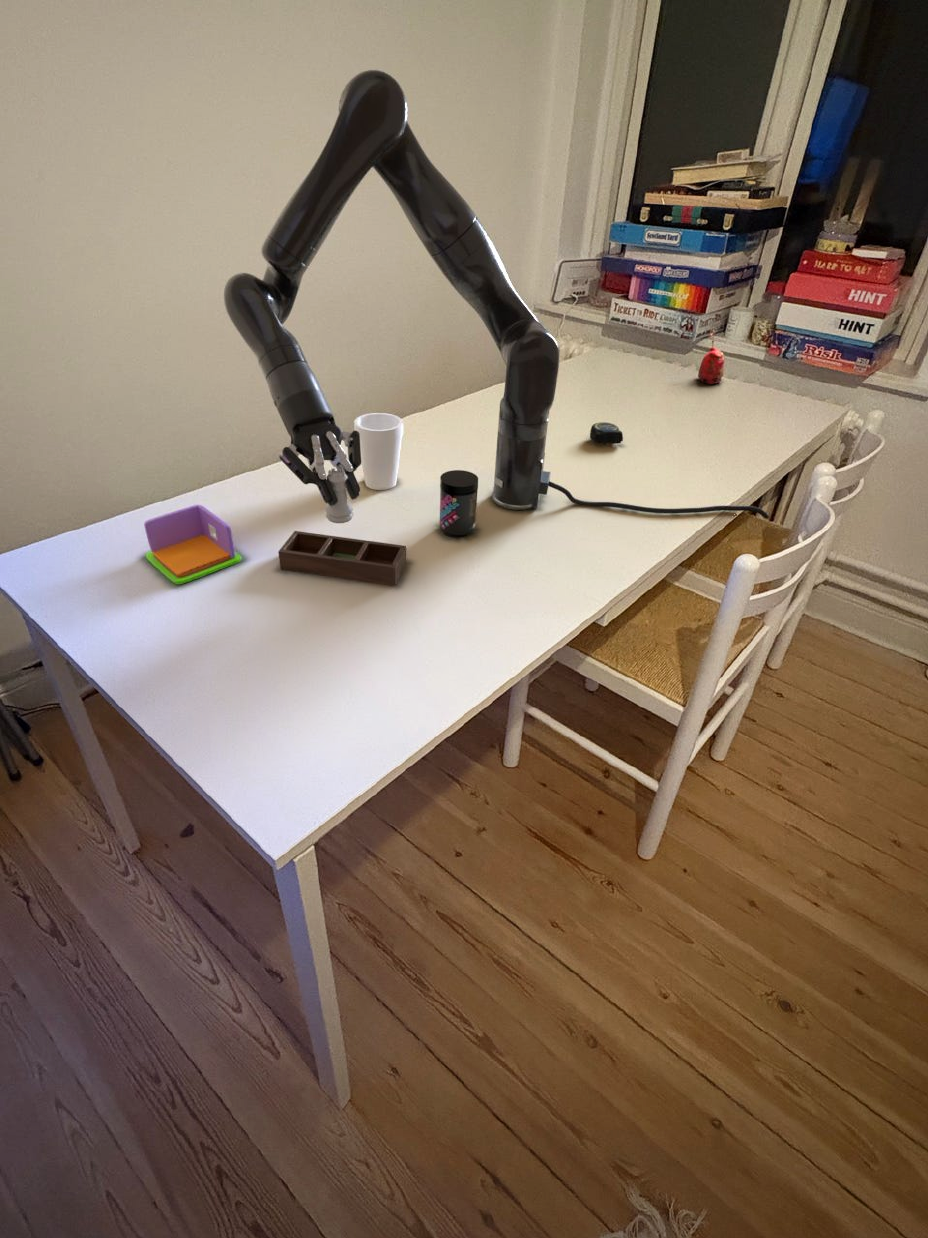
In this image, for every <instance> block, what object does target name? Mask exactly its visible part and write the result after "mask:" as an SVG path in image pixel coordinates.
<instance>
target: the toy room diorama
mask: <svg viewBox="0 0 928 1238" xmlns="http://www.w3.org/2000/svg"><path fill="white" fill-rule="evenodd" d="M143 525H144V530H145V535H146V539H147V542H148V546H149V548H150V551H147V552H146V553H145V558H146V559H147V560H148V562H149V563H151V564H152V565H153V566H154V567H155V568H156V569H157V570H158V571H159V572H160V573H162V574H163V576H165V577H166V578H167V579H168V580H170V582H172V583H173V584H174V585H178V586H179V585H184V584H187V583H189V582H192V581H195V580H197V579H199V578H203V577H205V576H208V575H210V574H213V573H215V572H218V571H221V570H223V569H225V568H228V567H231V566H233V565H236V564H239V563H240V562H241V561H242V556H241V555H240V554H239V552H237V551H236V550H235V545H234V539H233V534H232V529H231V526H230V525H229V524H228V523H227V522H225V521H224V520H223V519H221V518H220V517H219V516H217V514H215V513H213V512H212V511H211V510H209V509H208V508H206V507H205V506H203V504H194V505H190V506H187V507H184V508H181V509H177V510H174V511H172V512H168V513H164V514H162V515H159V516H156V517H153V518H149V519H148V520H145V521H144V524H143Z"/></svg>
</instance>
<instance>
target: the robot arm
mask: <svg viewBox="0 0 928 1238" xmlns="http://www.w3.org/2000/svg"><path fill="white" fill-rule="evenodd" d="M372 168H373V169H374V171H375V172H376V174H378V176H379V177H380V178H381V179H382V181H383V182H384V183H385V185H386V186H387V187H388V188H389V190H390V192H391V193H392V195H393V197H395V199H396V201H397V202H398V204H399V206H400V208H401V209H402V211H403V213H404V215H405V217H406V219H407V220H408V222H409V224H410V226H411V227H412V229H413V230H414V232H415V234H416V236H417V238H418V239H419V240H420V242H421V243H422V245H423V247H424V248H425V251H427V252H428V254H429V256H430V258H431V259H432V260H433V262H434V263H435V265H436V267H437V268H438V269H439V271H440V272H441V274H442V275H443V276H444V278H445V279H446V280H447V281H448V283H449V284H450V285H451V287H453V288H454V290H455V291H456V292H457V293H458V295H460V296H461V298H462V299H463V300H464V301H465V302H466V303H467V304H468V305H469V306H470V307H471V308H472V309H473V310H474V311H475V312H476V313H477V315H478V316H479V317H480V319H481V321H482V322H483V324H484V325H485V327H486V328H487V331H488V332H489V334H490V337H492V339H493V341H494V343H495V345H496V348H497V349H498V351H499V353H500V355H501V358H502V360H503V362H504V364H505V367H506V368H505V381H504V390H503V391H504V392H503V396H502V397H501V399H500V401H499V411H498V424H497V437H496V451H495V464H494V478H493V487H492V497H491V498H492V501H493V502H494V503H495V504H496V505H497V506H499V507H501V508H503V509H506V510H507V509H508V510H511V511H525V510H530V509H535V510H537V509H538V507H539V504H540V498H541V495H544V496H547V495H548V491H549V487H550V488H552V489H554V490H556V491H559V492H561V493H563V495H565V496H566V497H567V499H568V500H569V501H570V502H571V503H572V504H575V505H578V506H583V507H592V508H593V507H594V508H617V509H623V510H624V509H625V510H630V511H636V512H642V513H651V514H693V513H695V514H696V513H708V512H709V513H710V512H717V511H718V512H719V511H729V512H731V511H733V512H734V511H735V512H745V511H746V512H754V513H756V514H758V515H760V516H761V517H762V518H763V519H770V516H769V515H768V513H767V512H766V511H765V510H763V509H762V508H760V507H757V506H753V505H712V506H701V507H680V508H679V507H677V508H662V507H661V508H660V507H647V506H642V505H641V506H640V505H636V504H635V505H634V504H629V503H622V502H614V501H584V500H580V499H578V498H575V497H574V496H573V494H572V493H571V492H570V491H569V490H568V489H566V488H565V487H564V486H561V485H560V484H558V483H555V482H552V481H551V471H546V470H545V471H544V467H545V458H546V445H547V443H546V442H547V436H548V435H547V434H548V426H549V419H550V411H551V409H552V407H553V405H554V401H555V395H556V391H557V390H556V389H557V382H558V376H559V370H560V369H559V368H560V347H559V344H558V342H557V341H556V339H555V338H554V336H553V335H552V334H551V332H550V331H549V330H548V329H547V328H546V327H545V325H543V324H542V322H540V320H539V319H538V318H537V317H536V316H535V314H534V313H533V312H532V311H531V310H530V309H529V307H528V306H527V304H526V303H525V302H524V301H523V299H522V298H521V297H520V295H519V294H518V293H517V291H516V290H515V288H514V286H513V284H512V282H511V279H510V278H509V277H510V276H509V275H508V273H507V270H506V268H505V265H504V263H503V261H502V259H501V256H500V255H499V252H498V251H497V249H496V246H495V244H494V243H493V241H492V239H491V237H490V236H489V234H488V232H487V231H486V229H485V228H484V226H483V224H482V223H481V221H480V219H479V218H478V216H477V214H476V213H475V211H474V210H473V209H472V208H471V206H470V205H469V203H468V202H467V201H466V199H464V197H463V196H462V195H461V194H460V192H459V191H457V189H456V188H455V187H454V186H453V184H452V183H451V182H450V181H449V180H448V179H447V178H446V177H445V175H443V174H442V173H441V172H440V171H439V169H438V168H437V167H436V166H435V165H434V163H433V162H432V161H431V160H430V158H429V157H428V155H427V153H425V151H424V149H423V147H422V146H421V144H420V142H419V140H418V139H417V137H416V136H415V133H414V131H413V130H412V128H411V126H410V124H409V122H408V104H407V98H406V95H405V92H404V90H403V88H402V87H401V85H400V84H399V82H398V81H397V80H396V79H395V78H394V77H393V76H392V75H391V74H389V73H387V72H385V71H383V70H378V69H368V70H363V71H361V72H359V73H357V74H356V75H354V76H353V77H352V78H351V79H350V80H349V81H348V83H347V84H346V85H345V86H344V88H343V90H342V92H341V94H340V98H339V101H338V114H337V117H336V119H335V122H334V125H333V128H332V129H331V132H330V135H329V137H328V138H327V141H326V143H325V145H324V146H323V149H322V150H321V153H320V154H319V156H318V158H317V159H316V160H315V162H314V164H313V166H312V167H311V169H310V171H309V172H308V173H307V174H306V176H305V177H304V179H303V180H302V181H301V183H300V184H299V186H298V187H297V188H296V189H295V191H294V192H293V194H292V196H291V197H290V198H289V200H288V201H287V202H286V203H285V206H284V207H283V208H282V210H281V212H280V214H279V215H278V217H277V218H276V220H275V221H274V223H273V225H272V227H271V228H270V230H269V232H268V234H267V235H266V237H265V238H264V240H263V242H262V245H261V248H260V254H261V257H262V259H263V260H264V261H265V262H266V264H267V265H266V268H265V272H264V275H263V277H262V279H261V278H259V277H258V276H255V275H254V274H251V273H247V272H237V273H234V274H233V275H231V276H230V277H229V278H228V279H227V280H226V282H225V284H224V287H223V292H222V293H223V295H222V297H223V305H224V308H225V311H226V314H227V316H228V318H229V320H230V321H231V323H232V325H233V326H234V328H235V329H236V331H237V332H238V333H239V335H240V337H241V338H242V340H243V341H244V343H245V344H246V345H247V347H248V348H249V349H250V351H251V352H252V354H253V355H254V357H255V359H256V361H257V363H258V366H259V368H260V370H261V373H262V374H263V377H264V379H265V381H266V384H267V388H268V390H269V393H270V397H271V398H272V400H273V401H272V402H273V404H274V406H275V408H276V410H277V412H278V414H279V416H280V419H281V422H282V423H283V426H284V427H285V429H286V432H287V434H288V435H289V437H290V445H288V446H284V447H283V449H282V450H281V452H280V454H279V456H278V457H279V460H280V461H281V462H282V463H283V464H284V465H285V466H286V468H288V469H289V470H290V471H291V472H292V473H293V474H294V475H295V477H296V478H298V480H300V481H301V483H302V484H304V485H309V484H311V485H312V484H313V485H315V486H316V488H318V491H319V493H320V495H321V497H322V500H323V502H324V503H325V504H327V505H328V504H329V505H330V506H333V505H335V504H336V503H337V502H338V499H337V496H336V494H335V492H334V490H333V487H332V485H331V483H330V481H329V479H327V478H326V477H327V474H326V469H325V461H328V462H330V464H331V465H332V467H333V468H336V469H337V468H340V469H341V471H342V469H343V470H345V474H346V475H347V477H348V478H347V480H346V481H345V484H346V485H347V487H346V493H348V496H349V498H350V500H352V501H353V500H356V499H358V497H360V492H361V487H360V484H359V481H358V479H357V478H356V475H355V473H354V472H356V471H357V469H359V467H360V466H362V463H361V449H360V434H359V432H358V431H355V430H353V431H352V432H349V431H343V430H342V428H341V427H340V426H339V425H337V423H336V420H335V416H334V414H333V412H332V409H331V407H330V405H329V403H328V401H327V398H326V397H325V394H324V391H323V390H322V387H321V386H320V382H319V381H318V378H317V377H316V375H315V373H314V371H313V370H312V369H311V367H310V365H309V363H308V360H307V359H306V357H305V353H304V352H303V349H302V347H301V345H300V343H299V341H298V340H297V338H296V337H295V335H293V333H292V332H290V331H289V330H288V329H287V328H286V327H285V326H284V323H286V321H287V320H288V318H289V317H290V314H291V313H292V310H293V307H294V304H295V302H296V298H297V295H298V292H299V290H300V287H301V283H302V279H303V276H304V274H305V272H306V271H307V270H308V269H309V267H310V265H311V263H312V262H313V260H314V259H315V257H316V255H317V254H318V252H319V251H320V249H321V248H322V246H323V244H324V242H325V241H326V239H327V237H328V235H329V234H330V232H331V230H332V228H333V227H334V225H335V224H336V221H337V220H338V218H339V217H340V214H341V213H342V211H343V210H344V208H345V206H346V204H347V203H348V201H349V200H350V198H351V197H352V195H353V193H354V192H355V191H356V190H357V188H358V186H359V185H360V184H361V183H362V181H363V179H364V178H365V177H366V176H367V175H368V173H369V172H370V170H371V169H372ZM342 441H343V443H344V447H345V448H347V453H346V451H345V450H344V449H343V448H342V446H341V445H342ZM299 454H300V455H301V456H302V457H303V458H305V459H306V460H307V463H308V465H307V464H306V463H305V462H303V460H302V458H301V459H300V457H299Z"/></svg>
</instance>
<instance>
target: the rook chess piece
mask: <svg viewBox="0 0 928 1238" xmlns="http://www.w3.org/2000/svg"><path fill="white" fill-rule="evenodd" d="M347 478H348V477H347V475H346V474H345V470H343V469H342V471H341V469H340V468H336V469H335V467H333V468H331V469H329V470H328V472H327V474H326V479H329V481H330V483H331V485H332V487H333V490H334V492H335V494H336V496H337V499H338V502H337V503H336V504H335V505H333V506H330V505H329V504H328V503H327V506H325V518H326V519H327V520H328V521H329V522H331V523H333V524H345V523H348V522H350V521H352V519H353V517H354V509H353V506H352V504H350V501H349V500H348V495H347V489H346V487H347V485H346V484H345V481H346V480H347Z"/></svg>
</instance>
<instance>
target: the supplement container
mask: <svg viewBox="0 0 928 1238" xmlns="http://www.w3.org/2000/svg"><path fill="white" fill-rule="evenodd" d="M439 483H440V484H439V523H438V525H439V530H440V532H441V533H442V534H443V535H444V536H447V537H450V538H455V539H462V538H463V539H464V538H467V537H469V536H471V535H472V534H473V533H474V532H475V531H476V525H477V524H476V521H477V509H478V508H477V504H478V491H479V490H478V489H479V477H478V475H477V474H475V473H473V472H471V471H469V470H464V469H463V470H462V469H454V470H448V471H445V472H443V473H442V474H441V475H440V477H439Z"/></svg>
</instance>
